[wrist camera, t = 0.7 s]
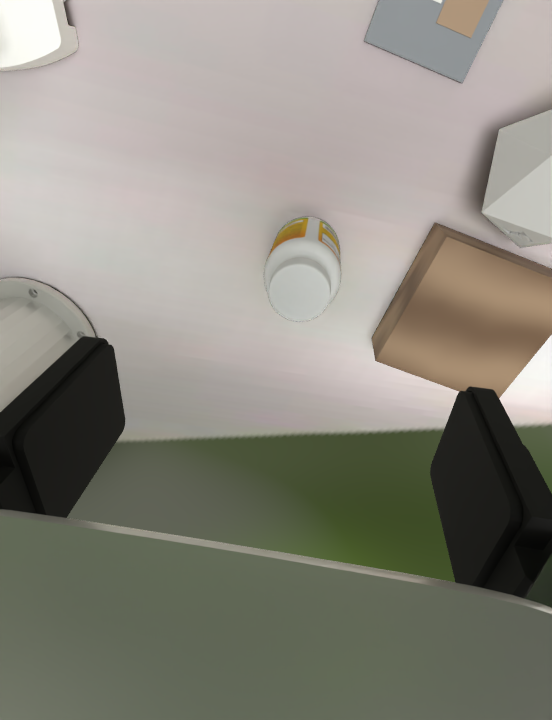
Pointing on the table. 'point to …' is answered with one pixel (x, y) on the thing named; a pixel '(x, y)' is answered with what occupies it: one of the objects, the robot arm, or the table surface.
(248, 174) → the table surface
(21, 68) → the joystick
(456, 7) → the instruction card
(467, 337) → the base block
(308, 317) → the supplement bottle
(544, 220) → the die
